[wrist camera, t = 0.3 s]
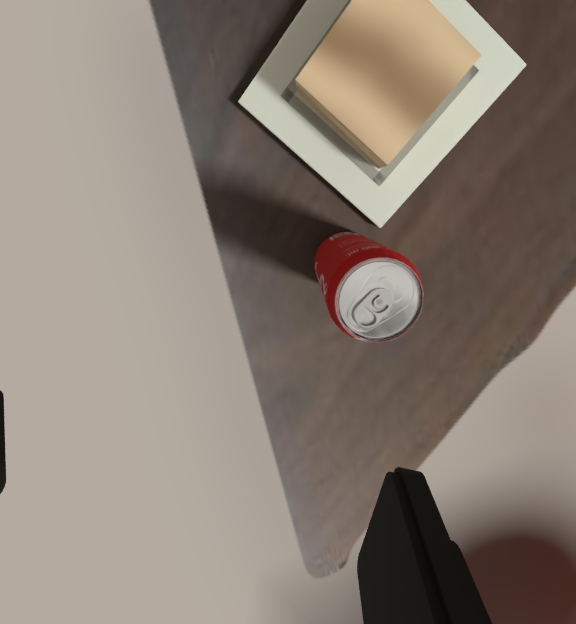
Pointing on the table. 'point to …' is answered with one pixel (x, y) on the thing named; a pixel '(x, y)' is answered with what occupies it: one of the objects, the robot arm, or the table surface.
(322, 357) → the table surface
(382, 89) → the oak block
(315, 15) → the board
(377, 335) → the beverage can
